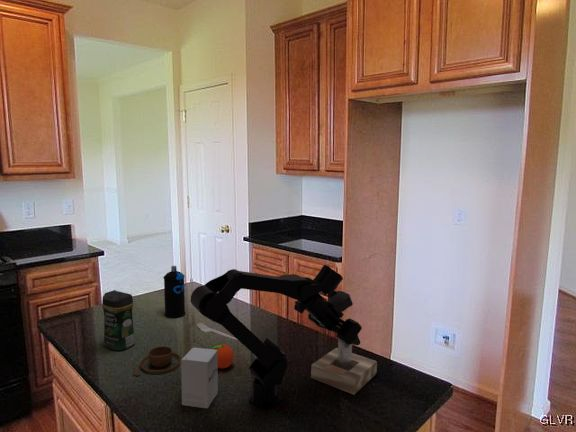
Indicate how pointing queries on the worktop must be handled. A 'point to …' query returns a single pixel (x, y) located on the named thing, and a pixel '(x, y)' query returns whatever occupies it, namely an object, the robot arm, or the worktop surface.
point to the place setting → (159, 360)
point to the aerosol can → (174, 294)
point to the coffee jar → (118, 320)
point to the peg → (344, 355)
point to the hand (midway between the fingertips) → (349, 337)
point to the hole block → (344, 372)
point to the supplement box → (199, 377)
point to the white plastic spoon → (213, 331)
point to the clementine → (224, 355)
